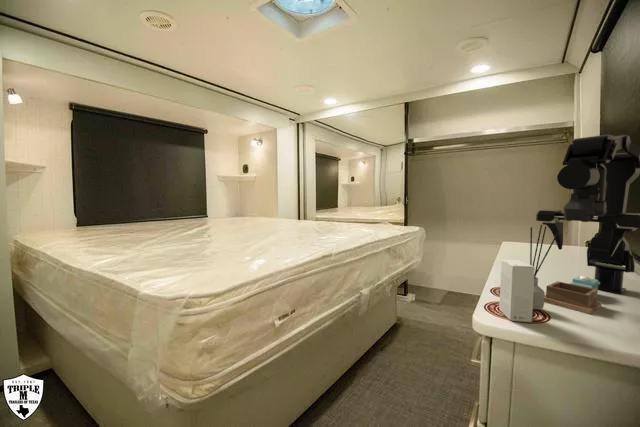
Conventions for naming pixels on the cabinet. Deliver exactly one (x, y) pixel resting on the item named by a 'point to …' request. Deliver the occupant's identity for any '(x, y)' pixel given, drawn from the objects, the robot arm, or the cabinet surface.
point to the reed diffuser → (538, 292)
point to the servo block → (586, 282)
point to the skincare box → (516, 290)
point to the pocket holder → (572, 297)
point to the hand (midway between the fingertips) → (583, 252)
